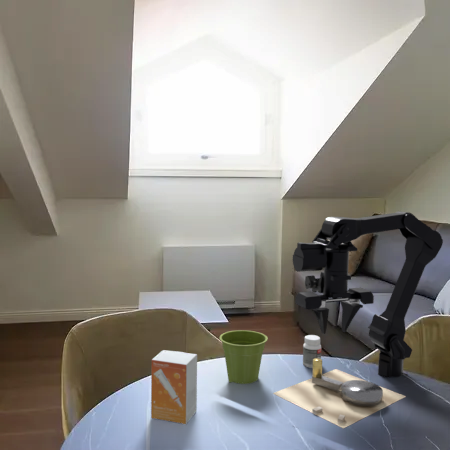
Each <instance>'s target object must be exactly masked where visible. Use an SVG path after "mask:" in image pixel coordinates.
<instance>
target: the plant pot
mask: <svg viewBox="0 0 450 450" xmlns="http://www.w3.org/2000/svg"><path fill="white" fill-rule="evenodd" d="M219 340H220V342H221V343H222V350H223V352H224V359H225V366H226V373H227V379H228V380H227V381H228V382H229V383H235V384H241V385H246V384H247V385H248V384H252V383H255V382H258V380H259V375H260V368H261V365H262V359H263V352H264V350H265V345H266V342H268V335H266V334H264V333H262V332H258V331H255V330H254V331H253V330H241V329H238V330H230V331H226V332H224V333H221V334H220V336H219Z"/></svg>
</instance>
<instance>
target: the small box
mask: <svg viewBox="0 0 450 450" xmlns="http://www.w3.org/2000/svg"><path fill="white" fill-rule="evenodd" d="M150 368H151V370H150V371H151V376H150V377H151V379H150V380H151V381H150V382H151V383H150V385H151V388H150V389H151V391H150V393H151V394H150V401H151V402H150V404H151V405H150V408H151V409H150V410H151V411H150V413H151V415H150V416H151V417H150V418H151V419H154V420H161V421H166V422H167V421H168V422H172V423H177V424H183V425H187V424H188V422H190V419H192V418H193V416H194V415H195V413H196V412H197V408H198V407H197V406H198V405H197V403H198V401H197V400H198V398H197V397H198V395H197V394H198V389H197V388H198V354H197V353H188V352H185V351H184V352H183V351H177V350H176V351H175V350H165V349H163V350H161V351H160V352H159V353H158V354H157V355H156V356H154V357H153V358H152V359H151V367H150Z"/></svg>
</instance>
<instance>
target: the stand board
mask: <svg viewBox="0 0 450 450" xmlns="http://www.w3.org/2000/svg"><path fill="white" fill-rule="evenodd" d="M322 376H325V377H328V378H331V379H334V380H337V381H341V382H343V383H344V382H346V381H351V380H362V381H366V380H365V379H362V378H360V377H357V376H354V375H352V374H350V373H347V372H345V371H342V370H340V369H336V368H335V369H333V370H332V369H331V370H330V371H328V372H324V373H322ZM379 386H380V385H379ZM380 387H381V388H382V390H383V398H382V402H381V403H380V404H378V405H375V406H359V405H355V404H351V403H349V402H347V401H345V400H344V399H343V398H342V396H341V391H339V392H338V391H335V390H332V389H329V388H326V387H323V386H320V385H317V384H314V383H312V377H311V378H309V379H306V380H303V381H301V382H299V383H296V384H292V385H290V386H288V387H285V388H282V389H280V390H277V391H275V392H273V393H272V394H273V395H275V396H277V397H279V398H281V399H283V400H285V401H287V402H289V403H292V404H294V405H296V406H297V407H299V408H301V409H303V410H306V411H308V412H310V413H311V414H313V415H315V416H317V417H319V418H321V419H323V420H325V421H327V422H329V423H331V424H333V425H336V426H338V427H339V428H341V429H345V428H347V427H349V426H352V425H353V424H355V423H358V422H359V421H361V420H363V419H365V418H367V417H369V416H371V415H373V414H375V413H377V412H378V411H381V410H382V409H385V408H387V407H389V406H390V405H393V404H394V403H396V402H398V401H400V400H402V399H404V398H406V397H407V396H406V395H404V394H401V393H398V392H396V391H393V390H391V389H388V388H385V387H383V386H380Z"/></svg>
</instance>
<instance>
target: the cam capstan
mask: <svg viewBox="0 0 450 450" xmlns="http://www.w3.org/2000/svg"><path fill="white" fill-rule="evenodd" d="M322 374H323V359H322V358H321V359H319V358H315V359H313V368H312V376H311V378H312V383H314V384H317V385H320V386H323V387H326V388H329V389H332V390H335V391H338V392H339V391H341V396H342V398H343V399H344V400H345V401H347V402H349V403H351V404H355V405H359V406H375V405H378V404H380V403H381V402H382V398H383V390H382V388H381V387H382V386H381V387H380V385H378V384H376V383H373V382H371V381H368V380H365V381H362V380H351V381H346V382H344V383H343V382H341V381H337V380H334V379H331V378H328V377H325V376H322Z"/></svg>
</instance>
